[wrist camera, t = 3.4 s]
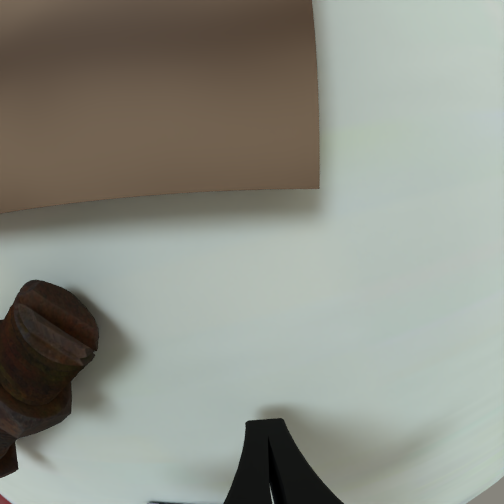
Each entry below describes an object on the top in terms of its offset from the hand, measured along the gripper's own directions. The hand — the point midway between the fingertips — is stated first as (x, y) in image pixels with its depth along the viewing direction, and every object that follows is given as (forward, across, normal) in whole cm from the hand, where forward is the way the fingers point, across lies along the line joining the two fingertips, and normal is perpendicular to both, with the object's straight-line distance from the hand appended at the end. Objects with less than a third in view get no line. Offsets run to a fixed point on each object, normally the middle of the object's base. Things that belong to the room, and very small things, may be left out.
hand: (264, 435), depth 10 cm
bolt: (+2, +12, -1) cm, 12 cm away
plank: (+2, +14, -14) cm, 20 cm away
